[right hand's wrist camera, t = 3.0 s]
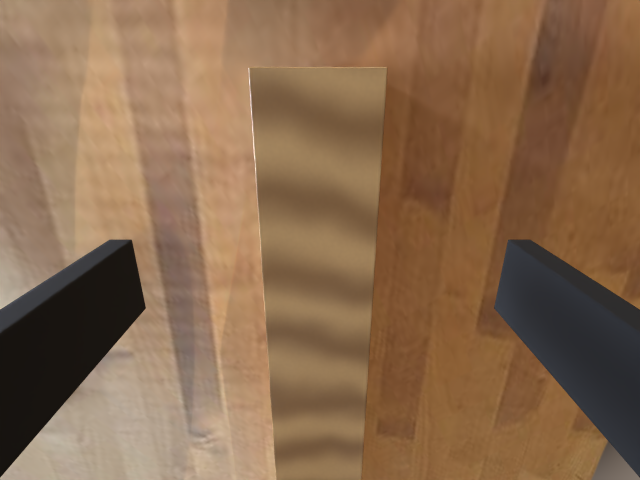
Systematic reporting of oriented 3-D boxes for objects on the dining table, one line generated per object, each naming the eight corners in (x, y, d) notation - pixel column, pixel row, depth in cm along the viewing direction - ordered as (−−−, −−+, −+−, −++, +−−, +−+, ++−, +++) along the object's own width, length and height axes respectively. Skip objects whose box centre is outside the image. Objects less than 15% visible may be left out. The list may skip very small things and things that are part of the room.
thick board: (264, 75, 30) (248, 66, 23) (371, 75, 30) (387, 66, 23) (292, 606, 61) (289, 673, 54) (345, 606, 61) (349, 673, 54)
